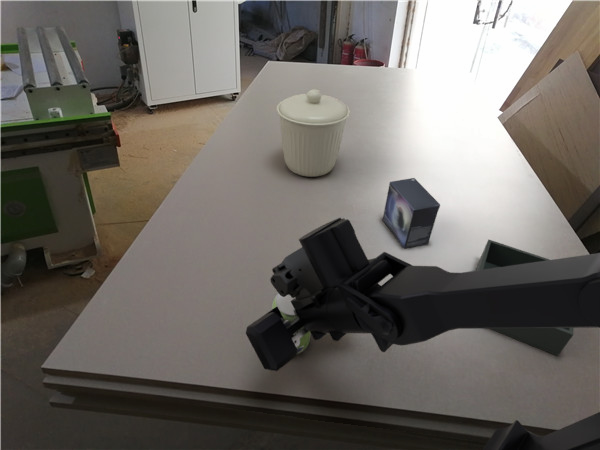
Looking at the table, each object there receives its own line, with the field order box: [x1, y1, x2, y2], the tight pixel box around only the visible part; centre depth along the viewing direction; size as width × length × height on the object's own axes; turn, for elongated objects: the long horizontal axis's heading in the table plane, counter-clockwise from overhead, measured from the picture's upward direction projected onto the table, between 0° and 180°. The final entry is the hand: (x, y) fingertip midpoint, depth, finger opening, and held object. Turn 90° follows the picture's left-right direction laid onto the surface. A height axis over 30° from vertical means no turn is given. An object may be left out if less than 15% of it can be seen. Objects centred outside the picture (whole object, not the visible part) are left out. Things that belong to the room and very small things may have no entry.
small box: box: [382, 177, 441, 249], centre depth 86 cm, size 11×6×10 cm, turn 17°
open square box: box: [475, 239, 574, 357], centre depth 72 cm, size 17×15×6 cm
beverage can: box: [271, 292, 311, 355], centre depth 61 cm, size 6×7×12 cm
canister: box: [276, 89, 351, 178], centre depth 103 cm, size 18×18×21 cm
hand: (282, 313), depth 61 cm, fingers closed on beverage can, 6 cm apart
